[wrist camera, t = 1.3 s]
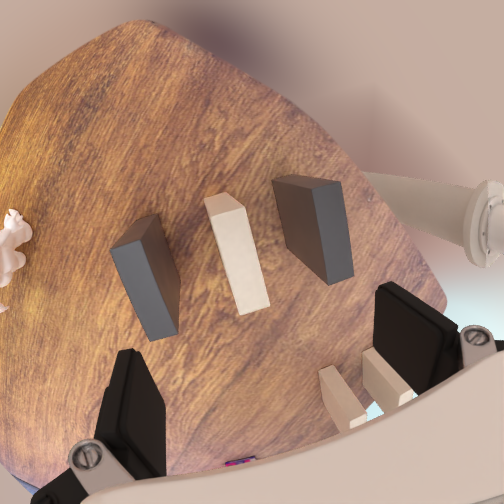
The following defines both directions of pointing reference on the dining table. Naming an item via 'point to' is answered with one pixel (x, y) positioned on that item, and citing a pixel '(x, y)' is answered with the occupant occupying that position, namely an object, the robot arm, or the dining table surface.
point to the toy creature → (12, 247)
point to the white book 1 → (237, 252)
